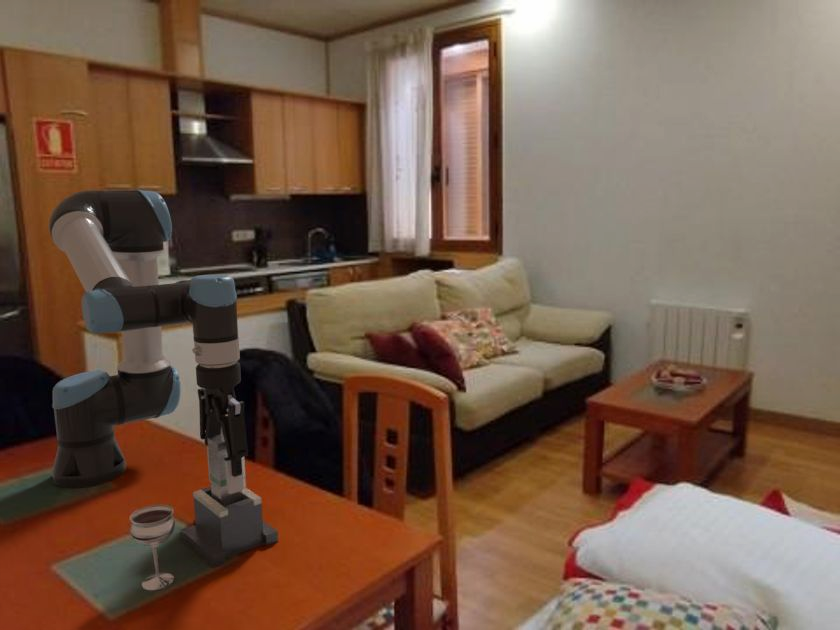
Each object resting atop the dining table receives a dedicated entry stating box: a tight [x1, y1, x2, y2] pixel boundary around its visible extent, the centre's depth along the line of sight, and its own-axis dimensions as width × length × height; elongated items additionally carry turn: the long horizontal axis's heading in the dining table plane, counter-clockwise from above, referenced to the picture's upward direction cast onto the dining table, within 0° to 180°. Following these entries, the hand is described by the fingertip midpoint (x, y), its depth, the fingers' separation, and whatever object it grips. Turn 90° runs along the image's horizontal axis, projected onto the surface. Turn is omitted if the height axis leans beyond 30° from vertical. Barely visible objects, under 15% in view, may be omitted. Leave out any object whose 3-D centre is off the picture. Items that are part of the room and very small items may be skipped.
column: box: [208, 434, 242, 507], centre depth 119 cm, size 7×4×20 cm, turn 42°
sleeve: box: [180, 485, 279, 568], centre depth 120 cm, size 13×13×9 cm
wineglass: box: [129, 504, 176, 591], centre depth 107 cm, size 7×7×12 cm
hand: (226, 484), depth 118 cm, fingers open, 7 cm apart
